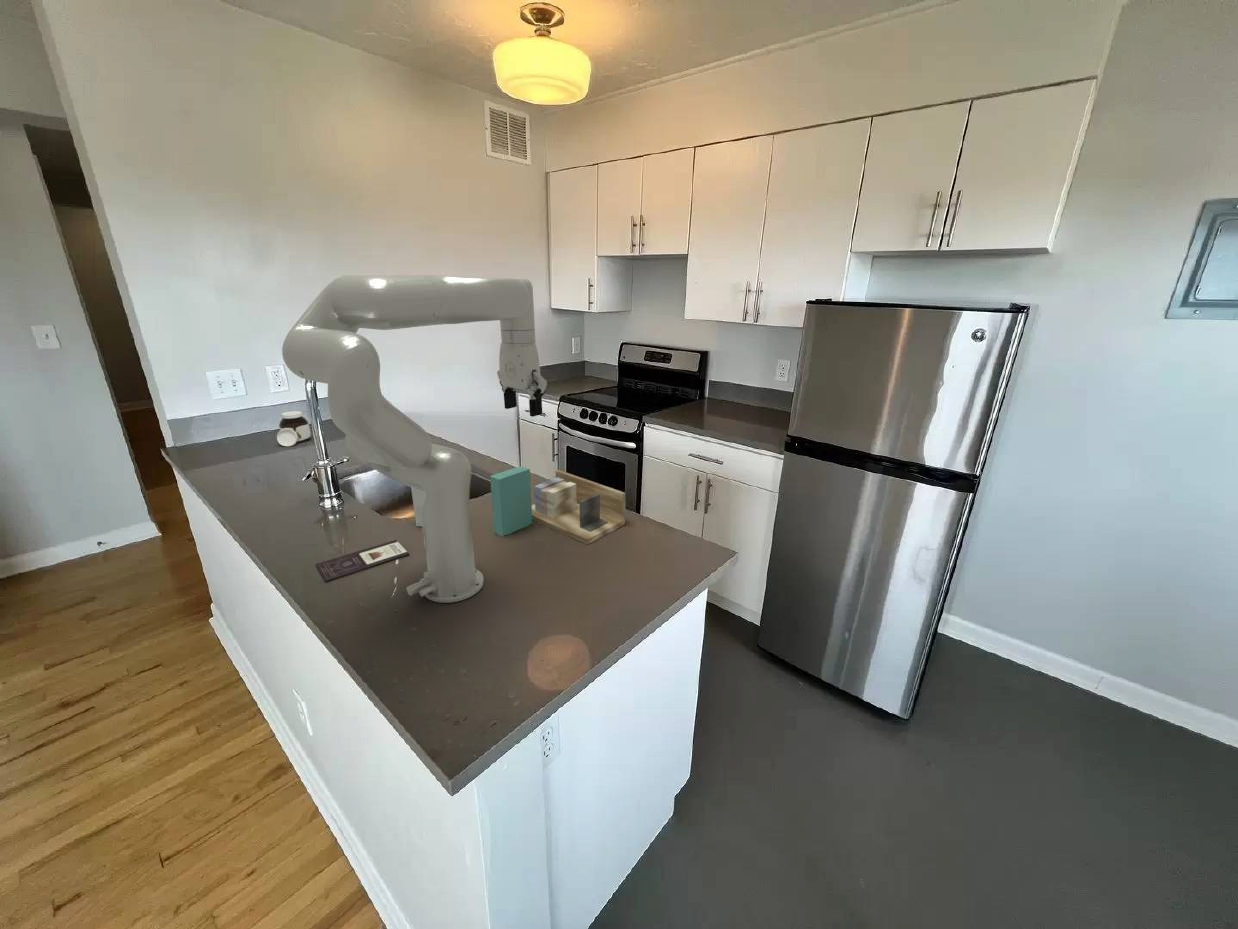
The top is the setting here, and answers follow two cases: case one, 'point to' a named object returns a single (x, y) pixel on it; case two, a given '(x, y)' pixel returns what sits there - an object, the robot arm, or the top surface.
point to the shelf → (578, 507)
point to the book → (511, 500)
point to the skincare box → (418, 503)
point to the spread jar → (293, 429)
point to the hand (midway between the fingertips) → (523, 411)
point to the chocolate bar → (361, 560)
